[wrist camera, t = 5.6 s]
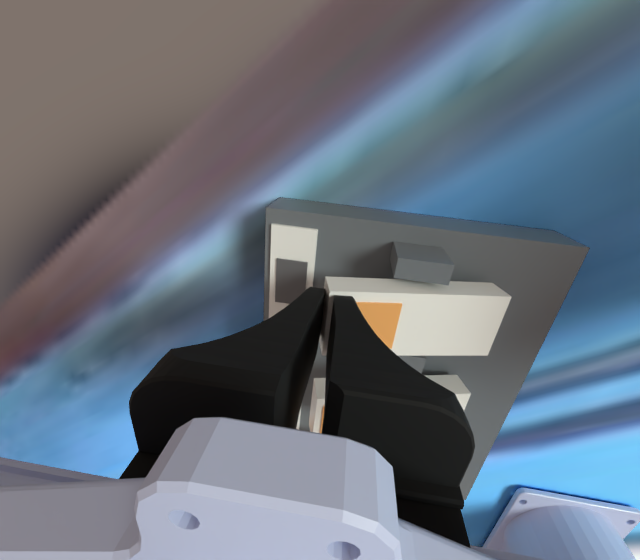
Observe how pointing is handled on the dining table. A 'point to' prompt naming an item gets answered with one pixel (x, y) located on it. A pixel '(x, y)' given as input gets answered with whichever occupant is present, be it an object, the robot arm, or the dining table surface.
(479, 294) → the rocker
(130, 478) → the robot arm
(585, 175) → the dining table surface
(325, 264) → the switch unit
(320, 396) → the rocker middle
